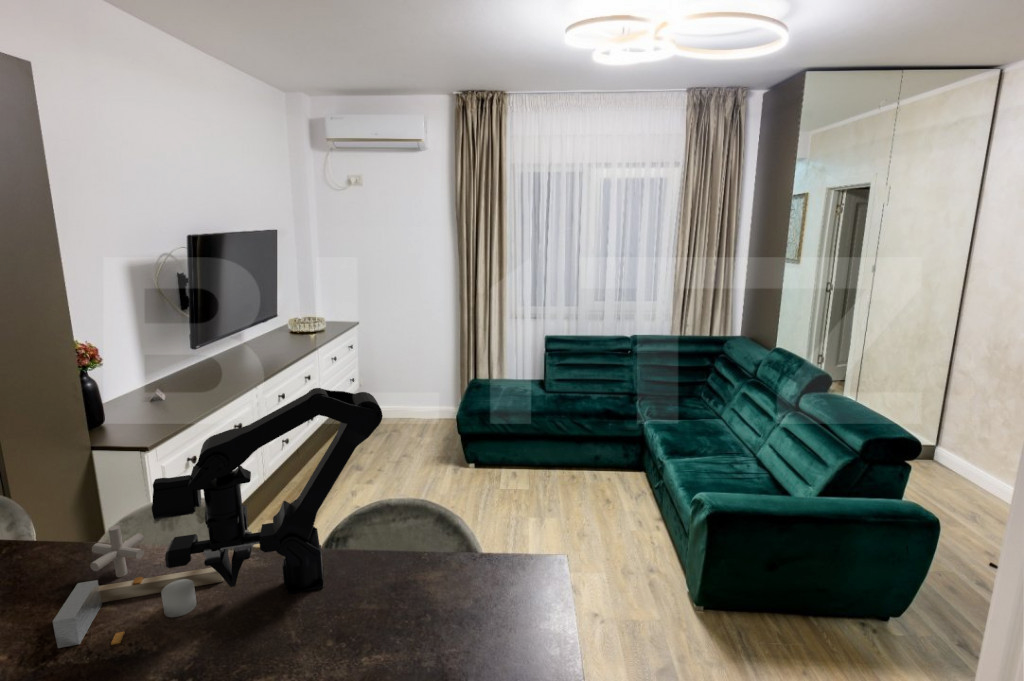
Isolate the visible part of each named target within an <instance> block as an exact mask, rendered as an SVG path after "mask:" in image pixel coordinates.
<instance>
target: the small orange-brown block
mask: <svg viewBox="0 0 1024 681" xmlns="http://www.w3.org/2000/svg"><path fill="white" fill-rule="evenodd" d="M124 635H125V631H119V632H115V634H114V636H113V638H112V641H111V643H110V645H111V646H113V645H118V644H121V642H122V640H123V637H124Z"/></svg>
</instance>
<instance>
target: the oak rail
mask: <svg viewBox="0 0 1024 681" xmlns="http://www.w3.org/2000/svg"><path fill="white" fill-rule="evenodd" d="M182 579H189V580H192V581H193V582H194V588H195V587H199V586H204V585H205V586H206V585H212V584H216V583H217V584H218V583H221V582H222V583H223V582H224V581H225V580H224V578H223V577H222V576H221V575H220V574H219V573H218V572H217V571H216V570H215V569H214V568H213V567H211V566H210V567H206V568H201V569H200V568H199V569H195V570H188V571H182V572H175V573H170V574H169V573H168V574H164V575H163V574H162V575H158V576H152V577H151V576H150V577H146V578H144V577H143V576H139V577H135V578H134V580H132V579H131V580H127V581H120V582H117V583H116V582H115V583H109V584H103V585H99V590H100V596H101V602H102V603H107V602H113V601H118V600H124V599H130V598H135V597H142V596H149V595H154V594H159V593H160V594H161V591H162V589H163V588H164V587H165V586H167V585H168V584H170V583H172V582H174V581H177V580H182Z"/></svg>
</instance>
